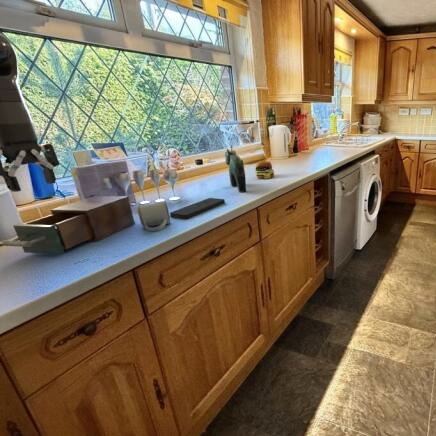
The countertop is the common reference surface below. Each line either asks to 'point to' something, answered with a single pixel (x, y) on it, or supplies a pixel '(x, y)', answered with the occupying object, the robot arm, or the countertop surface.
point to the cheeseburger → (264, 170)
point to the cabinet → (102, 214)
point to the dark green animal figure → (236, 170)
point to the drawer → (52, 233)
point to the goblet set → (138, 176)
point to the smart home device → (197, 208)
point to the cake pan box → (100, 180)
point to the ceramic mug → (154, 215)
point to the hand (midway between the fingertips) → (34, 187)
